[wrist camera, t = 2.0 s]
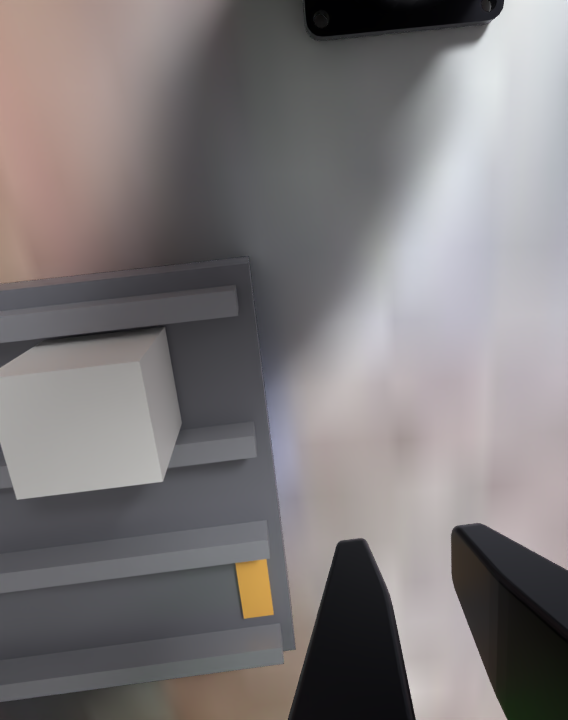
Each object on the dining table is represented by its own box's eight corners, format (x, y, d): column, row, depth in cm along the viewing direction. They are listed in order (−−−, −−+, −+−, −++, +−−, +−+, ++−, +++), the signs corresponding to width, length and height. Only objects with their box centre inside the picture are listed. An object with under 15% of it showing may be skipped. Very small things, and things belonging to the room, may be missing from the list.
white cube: (164, 326, 17) (139, 361, 13) (181, 423, 18) (163, 481, 14) (43, 340, 17) (-19, 379, 13) (67, 436, 18) (16, 499, 14)
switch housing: (248, 256, 19) (248, 267, 15) (291, 604, 23) (298, 674, 20) (-303, 317, 18) (-436, 343, 15) (-148, 662, 23) (-221, 745, 19)
